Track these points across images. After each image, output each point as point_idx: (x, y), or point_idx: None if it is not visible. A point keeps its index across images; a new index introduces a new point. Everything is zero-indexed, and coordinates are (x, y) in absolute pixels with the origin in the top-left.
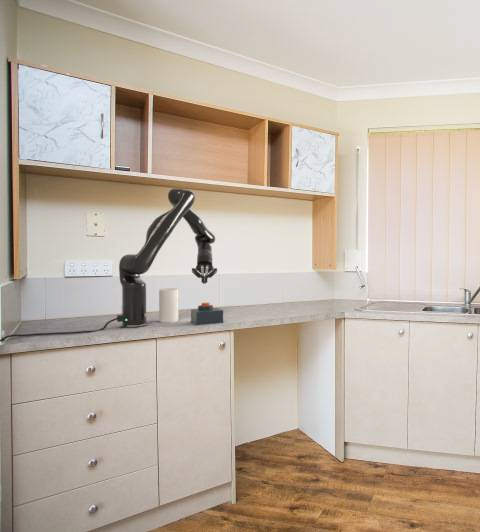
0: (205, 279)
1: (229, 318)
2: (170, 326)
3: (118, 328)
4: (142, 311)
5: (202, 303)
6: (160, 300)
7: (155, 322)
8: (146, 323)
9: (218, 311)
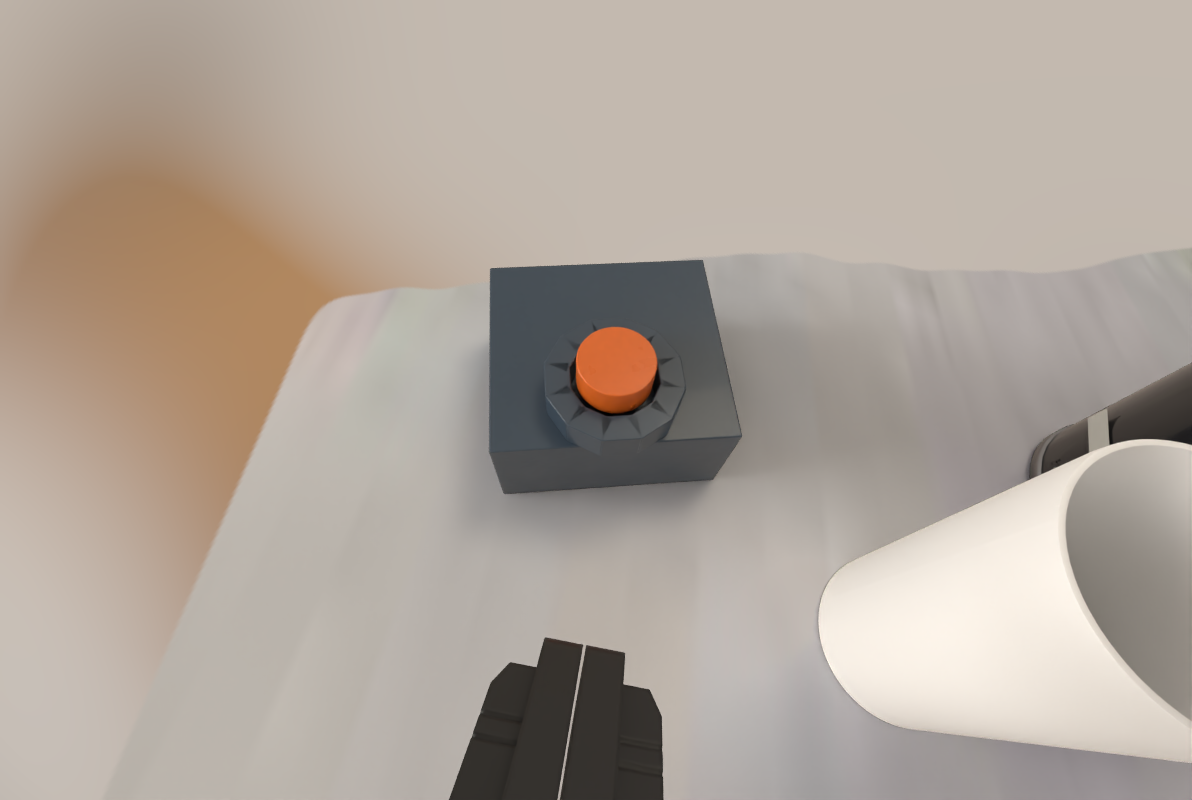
0: (547, 681)
1: (384, 508)
2: (847, 366)
3: None
4: (1145, 392)
5: (650, 344)
6: (1142, 556)
7: None
8: None
9: (530, 270)
